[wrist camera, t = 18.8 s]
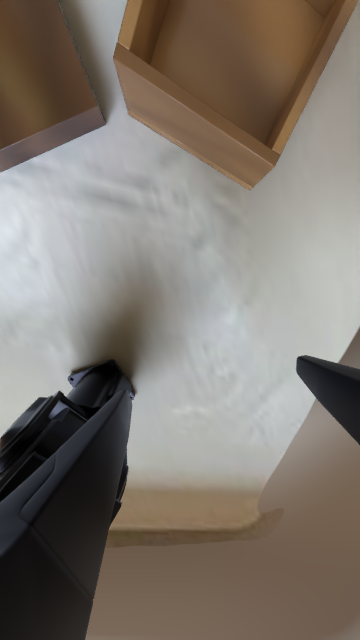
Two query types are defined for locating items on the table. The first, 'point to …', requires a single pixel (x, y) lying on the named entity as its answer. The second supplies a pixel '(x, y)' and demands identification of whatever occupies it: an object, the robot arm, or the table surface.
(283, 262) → the table surface
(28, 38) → the walnut board
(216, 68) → the wooden tray
